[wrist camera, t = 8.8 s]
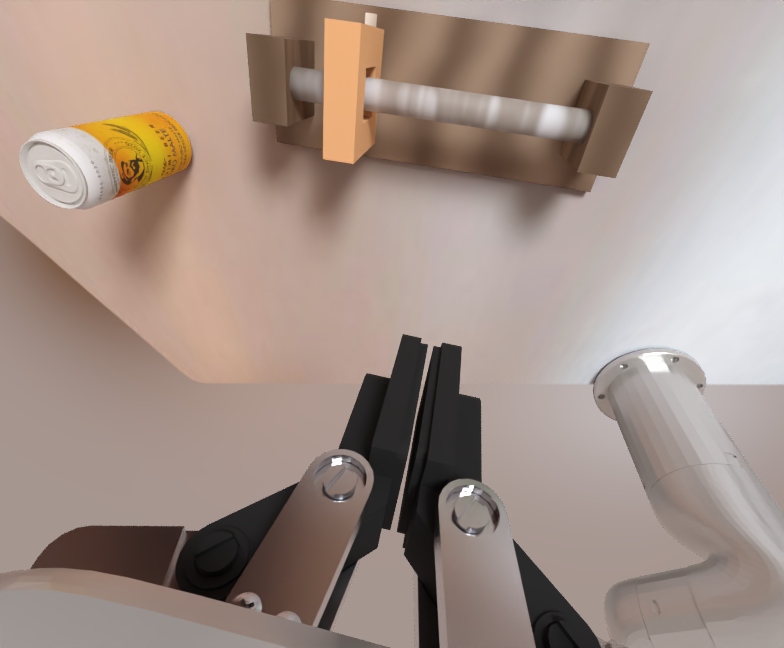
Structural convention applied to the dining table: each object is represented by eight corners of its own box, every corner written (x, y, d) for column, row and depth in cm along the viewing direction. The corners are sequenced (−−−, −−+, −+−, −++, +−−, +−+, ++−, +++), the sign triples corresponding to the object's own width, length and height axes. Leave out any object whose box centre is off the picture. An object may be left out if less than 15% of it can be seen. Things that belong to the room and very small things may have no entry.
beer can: (200, 174, 45) (100, 219, 33) (149, 165, 45) (32, 207, 33) (190, 115, 42) (75, 140, 29) (136, 106, 42) (0, 128, 30)
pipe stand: (646, 43, 33) (690, 41, 26) (587, 189, 40) (611, 216, 33) (273, -7, 35) (228, -21, 28) (279, 140, 42) (245, 156, 35)
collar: (384, 29, 34) (361, 22, 26) (375, 143, 39) (353, 164, 32) (355, 25, 34) (324, 17, 26) (350, 139, 39) (322, 158, 32)
